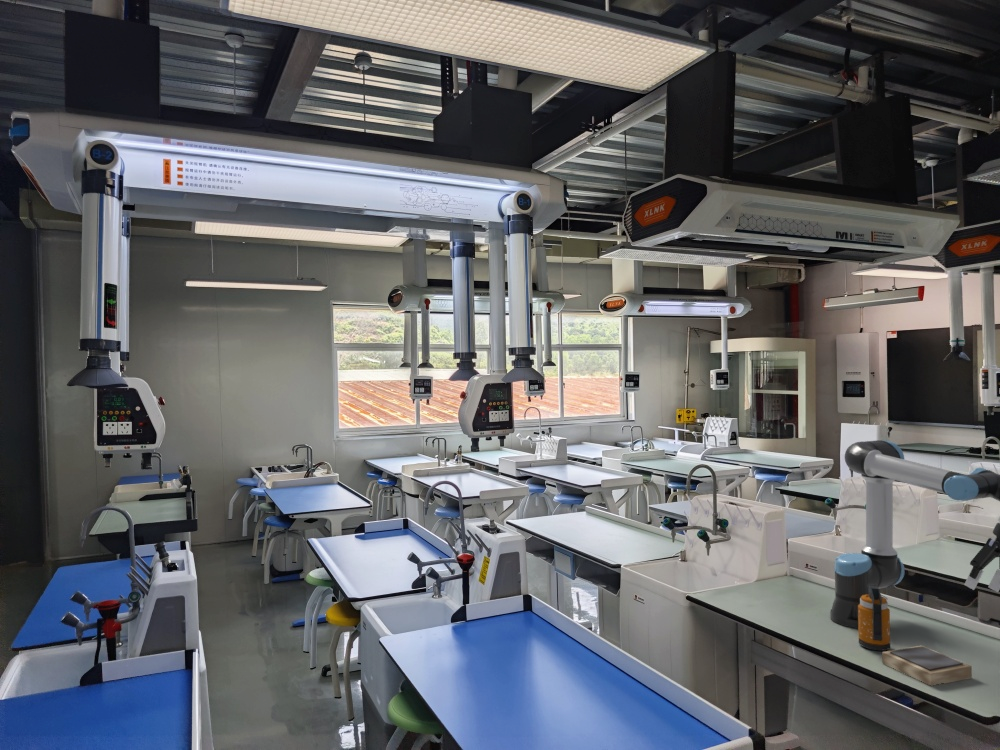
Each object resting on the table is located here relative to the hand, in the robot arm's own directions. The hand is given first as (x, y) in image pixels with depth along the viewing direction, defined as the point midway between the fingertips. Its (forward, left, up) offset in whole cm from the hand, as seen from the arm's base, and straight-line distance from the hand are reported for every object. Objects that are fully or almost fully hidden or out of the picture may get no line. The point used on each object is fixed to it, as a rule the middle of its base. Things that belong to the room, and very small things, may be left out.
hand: (981, 588), depth 206 cm
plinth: (0, -24, -22) cm, 32 cm away
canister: (-18, -24, -22) cm, 37 cm away
